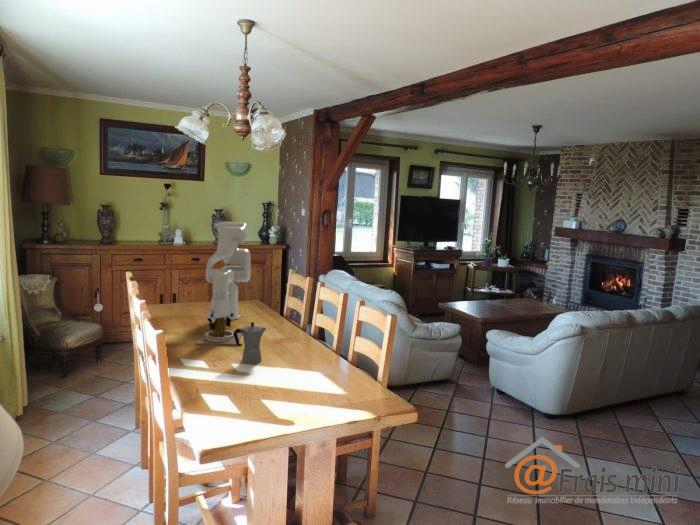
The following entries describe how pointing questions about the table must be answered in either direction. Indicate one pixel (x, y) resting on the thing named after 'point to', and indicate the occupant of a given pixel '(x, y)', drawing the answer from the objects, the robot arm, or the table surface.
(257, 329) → the coffeepot
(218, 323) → the condiment
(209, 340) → the holder
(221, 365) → the table surface
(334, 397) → the table surface
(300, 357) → the table surface
